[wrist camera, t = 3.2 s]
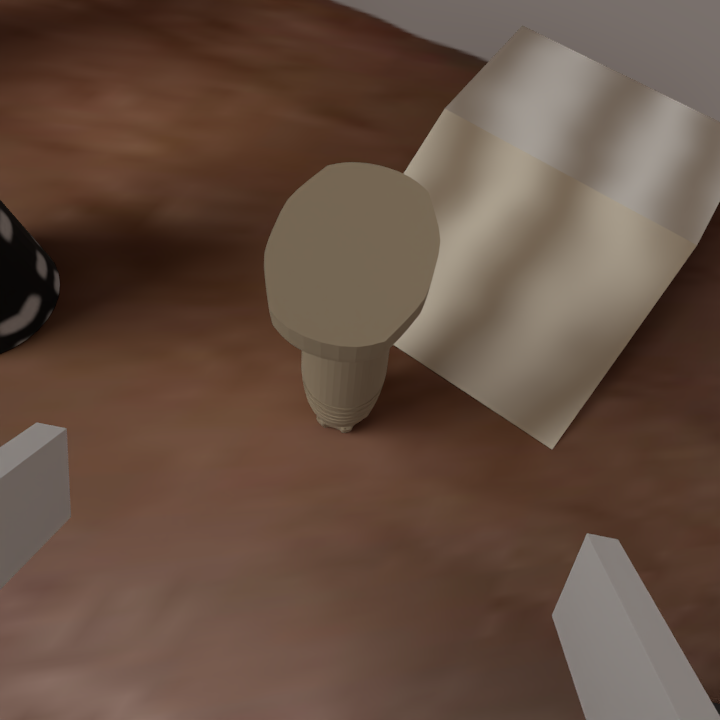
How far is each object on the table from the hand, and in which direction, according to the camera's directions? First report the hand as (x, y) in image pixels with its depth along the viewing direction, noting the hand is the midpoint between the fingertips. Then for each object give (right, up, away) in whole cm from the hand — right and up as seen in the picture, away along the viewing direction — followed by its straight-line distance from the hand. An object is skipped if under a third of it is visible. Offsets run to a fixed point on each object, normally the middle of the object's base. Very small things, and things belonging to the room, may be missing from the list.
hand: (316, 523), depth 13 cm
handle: (0, +1, +16) cm, 16 cm away
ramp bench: (+12, +11, +22) cm, 27 cm away
